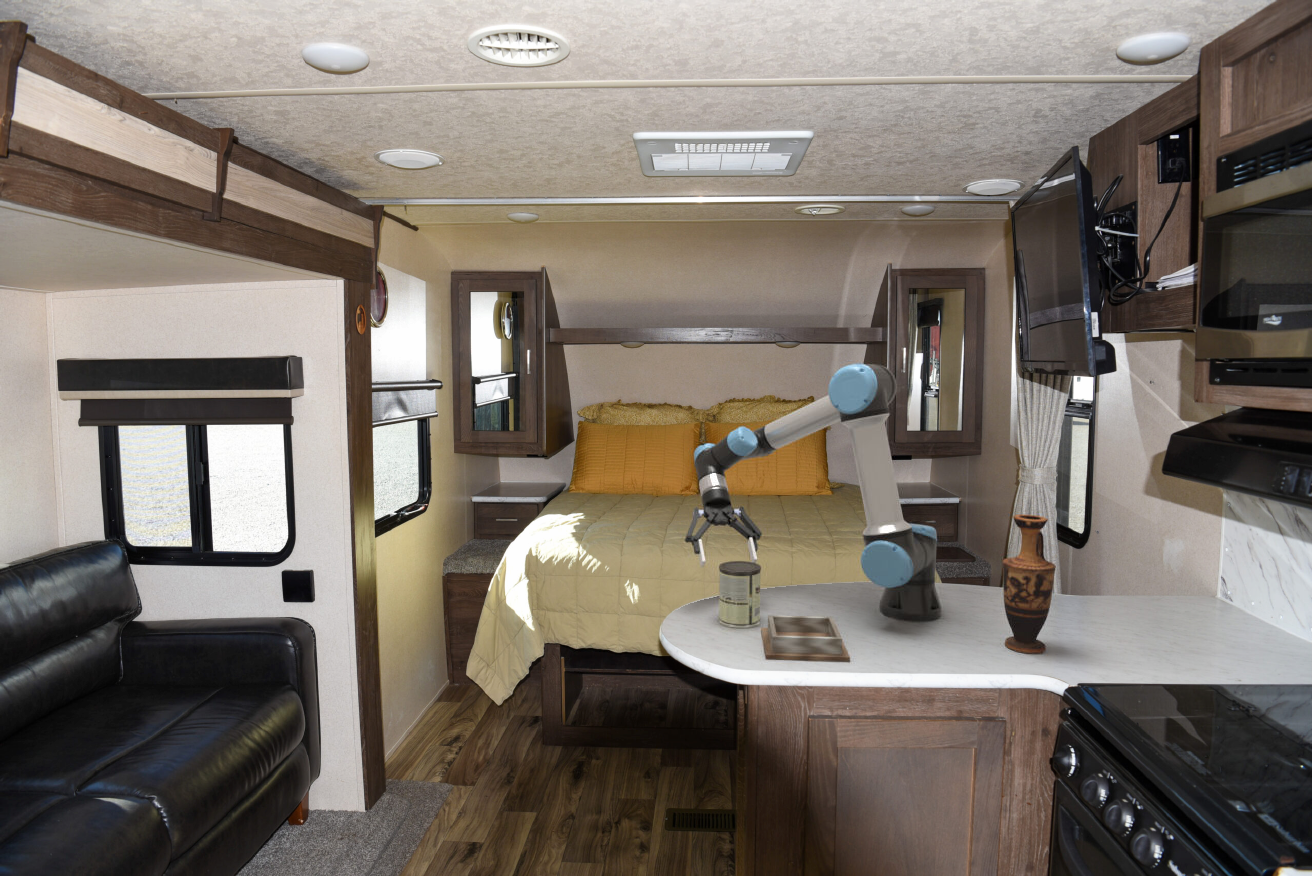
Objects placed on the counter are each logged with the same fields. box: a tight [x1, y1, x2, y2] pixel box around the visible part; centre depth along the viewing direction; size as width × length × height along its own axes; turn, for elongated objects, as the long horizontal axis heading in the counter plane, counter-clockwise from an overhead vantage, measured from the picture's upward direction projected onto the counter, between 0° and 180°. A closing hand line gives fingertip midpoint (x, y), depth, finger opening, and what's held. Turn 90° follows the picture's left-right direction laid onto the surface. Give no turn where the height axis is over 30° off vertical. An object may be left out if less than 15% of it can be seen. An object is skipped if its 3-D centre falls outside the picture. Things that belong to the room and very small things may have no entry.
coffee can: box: [718, 560, 762, 629], centre depth 200 cm, size 10×10×14 cm
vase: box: [1002, 513, 1056, 654], centre depth 182 cm, size 11×11×30 cm
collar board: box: [760, 614, 851, 663], centre depth 184 cm, size 18×18×4 cm
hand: (729, 563), depth 207 cm, fingers open, 13 cm apart
